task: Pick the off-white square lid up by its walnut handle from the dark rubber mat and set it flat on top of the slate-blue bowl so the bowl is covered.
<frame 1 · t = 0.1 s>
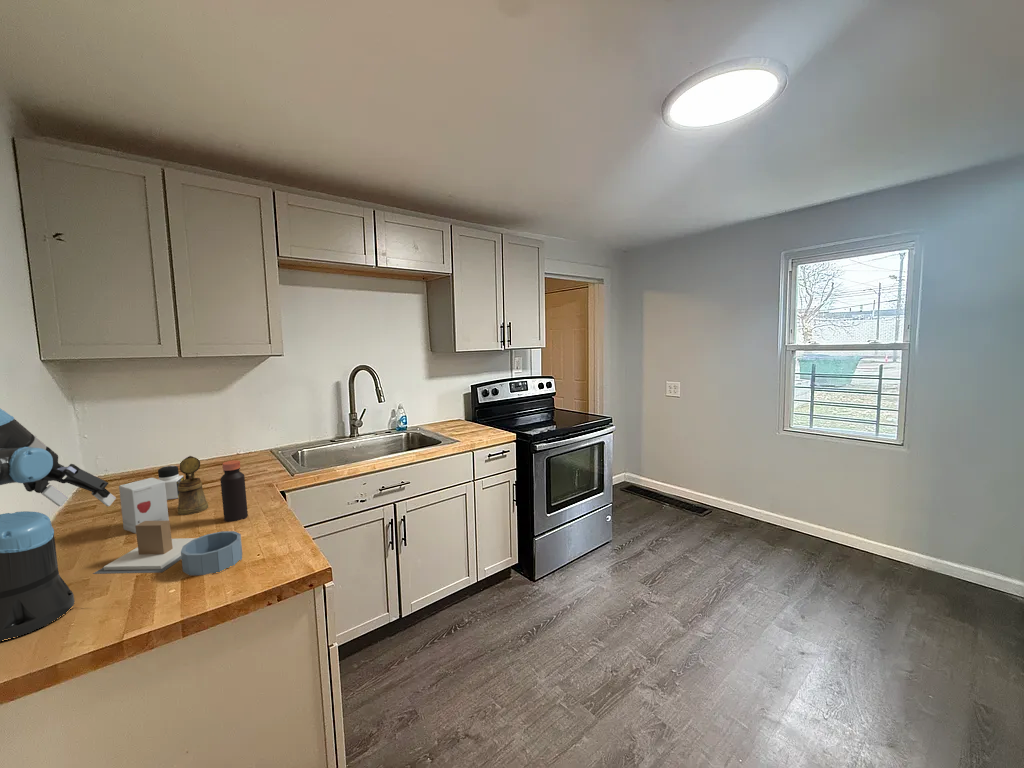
hand: (87, 502, 117), 15 cm above the worktop, tool tilted 35°, fingers open, 13 cm apart
mat: (156, 556, 116), on the worktop
bowl: (213, 563, 113), on the worktop
supplement box: (147, 527, 135), on the worktop
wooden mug: (193, 508, 150), on the worktop
lid: (156, 554, 116), resting on mat
medicine bottle: (171, 497, 161), on the worktop
vinegar: (236, 519, 140), on the worktop
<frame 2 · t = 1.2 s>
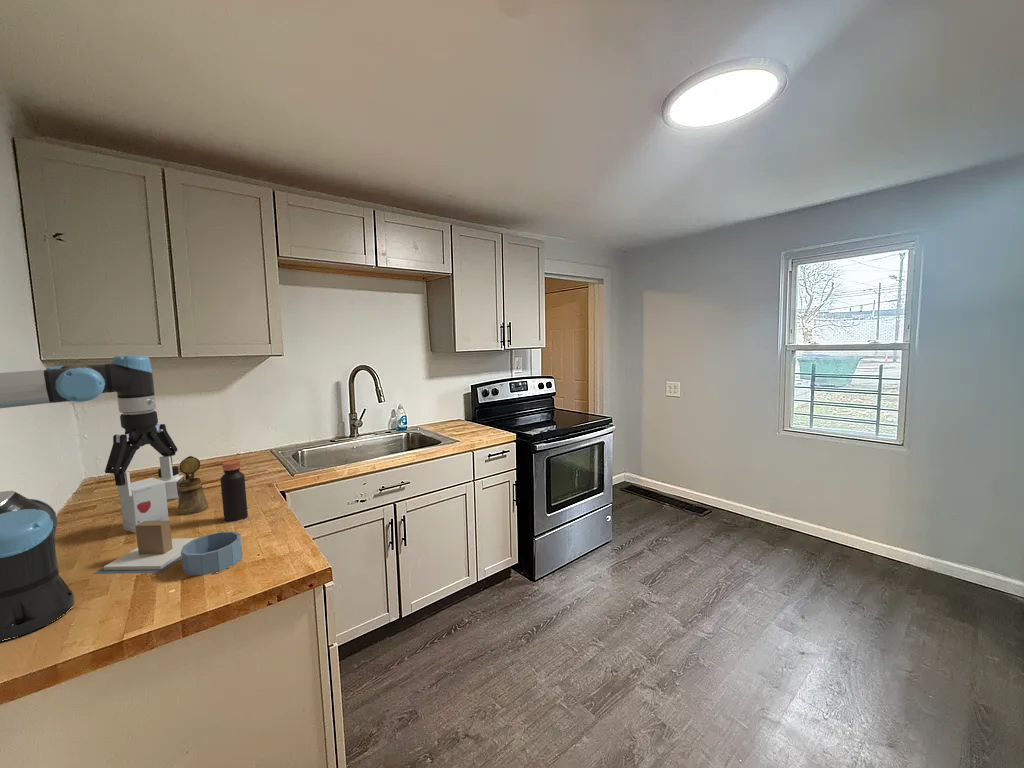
hand: (147, 486, 114), 21 cm above the worktop, tool pointing down, fingers open, 13 cm apart
nothing on the worktop moved.
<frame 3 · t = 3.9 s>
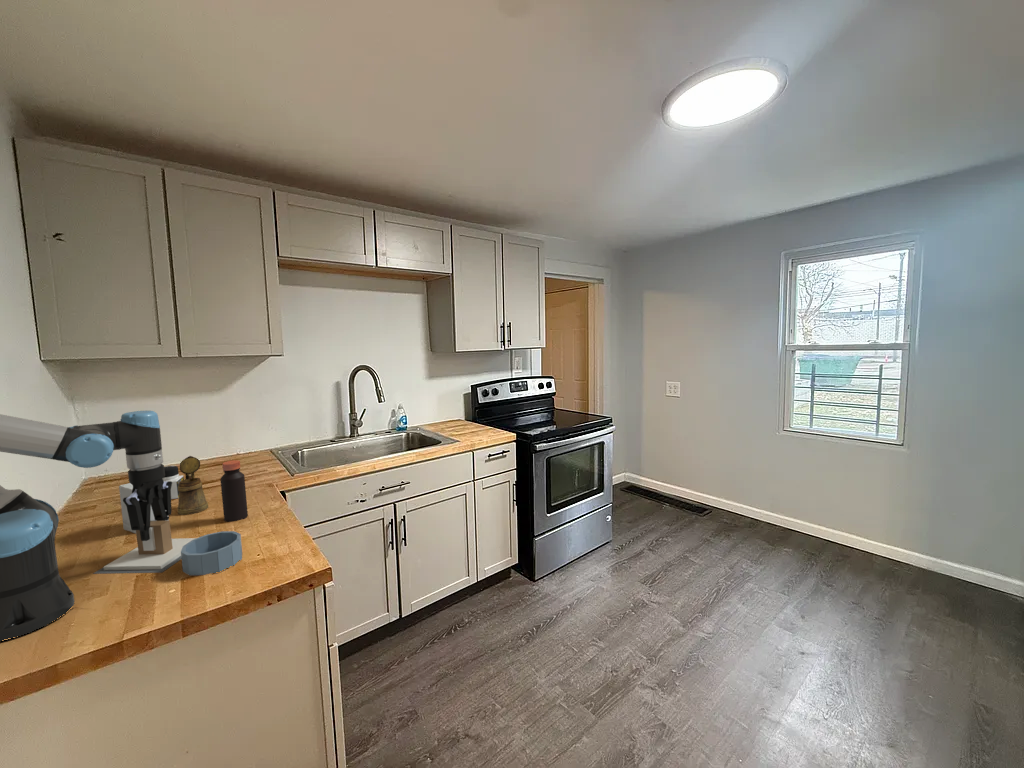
hand: (155, 546, 116), 3 cm above the worktop, tool pointing down, fingers closed on lid, 3 cm apart
lid: (156, 554, 116), resting on mat, touching gripper
everything else where it was.
when the fingers open (10 cm above the worktop, at t = 9.0 s): lid drops 1 cm, resting on bowl.
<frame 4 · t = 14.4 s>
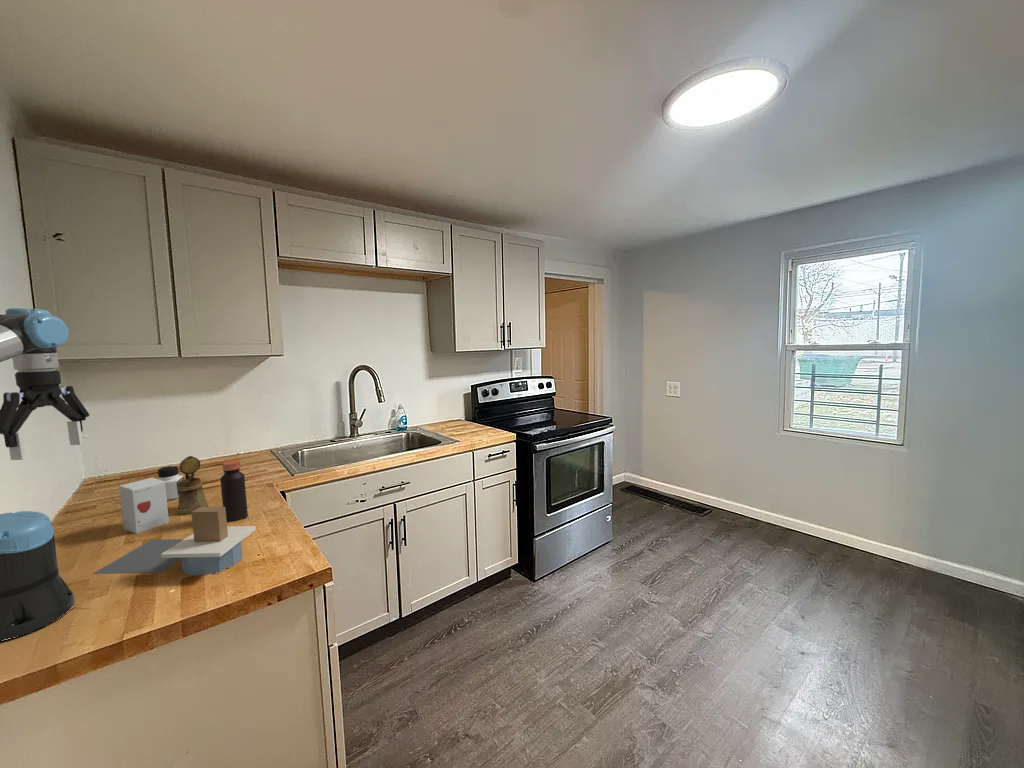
hand: (49, 451, 106), 33 cm above the worktop, tool pointing down, fingers open, 13 cm apart
lid: (211, 542, 112), point 6 cm above the worktop, touching bowl
everything else where it was.
at the end: lid 0.0 cm off-centre on the bowl, point 6.0 cm above the bowl's base; lid tilted 0°; the gripper is holding nothing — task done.
